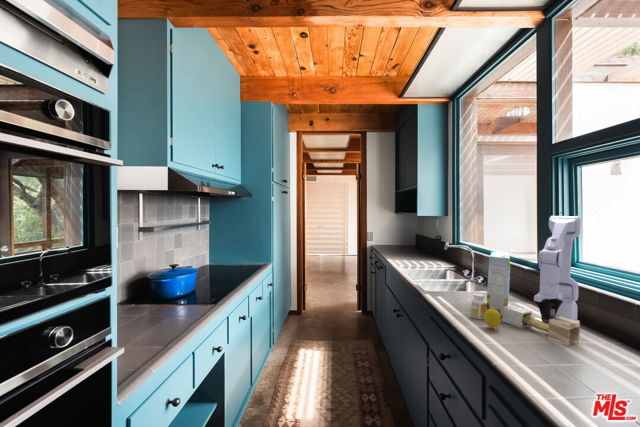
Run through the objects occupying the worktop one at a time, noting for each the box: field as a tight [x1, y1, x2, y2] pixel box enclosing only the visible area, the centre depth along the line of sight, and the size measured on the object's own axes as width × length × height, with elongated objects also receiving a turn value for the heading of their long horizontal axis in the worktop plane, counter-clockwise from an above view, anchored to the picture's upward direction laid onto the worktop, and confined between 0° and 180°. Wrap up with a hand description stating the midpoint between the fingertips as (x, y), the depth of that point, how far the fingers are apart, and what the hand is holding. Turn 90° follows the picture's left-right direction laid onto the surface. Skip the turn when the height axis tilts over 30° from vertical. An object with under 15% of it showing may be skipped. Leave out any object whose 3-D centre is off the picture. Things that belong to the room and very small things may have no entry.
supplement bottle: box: [470, 293, 487, 320], centre depth 132 cm, size 5×5×10 cm
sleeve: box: [501, 305, 533, 329], centre depth 126 cm, size 6×8×6 cm
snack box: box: [485, 251, 511, 317], centre depth 143 cm, size 22×9×26 cm, turn 148°
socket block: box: [548, 317, 581, 346], centre depth 110 cm, size 7×6×7 cm
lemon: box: [483, 308, 502, 329], centre depth 120 cm, size 6×6×8 cm
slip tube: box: [523, 308, 555, 333], centre depth 117 cm, size 4×16×9 cm, turn 24°
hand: (548, 318), depth 115 cm, fingers closed on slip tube, 3 cm apart
